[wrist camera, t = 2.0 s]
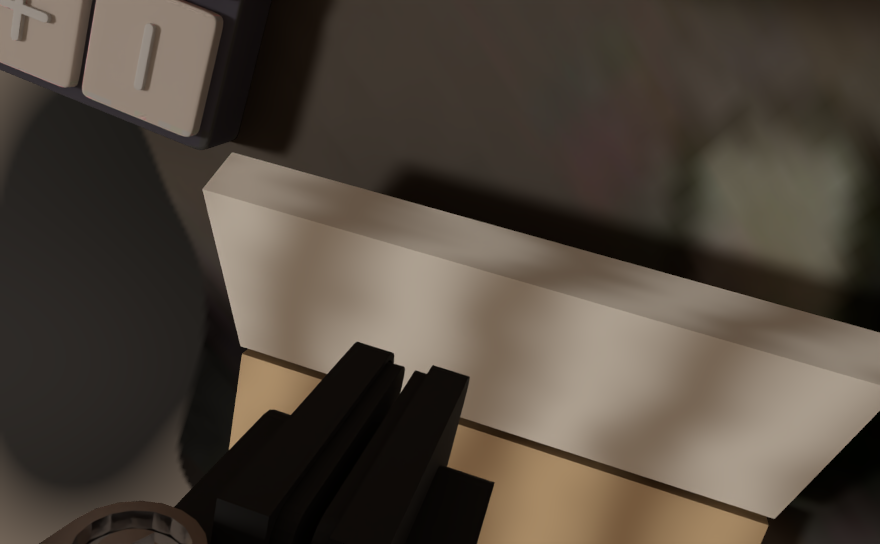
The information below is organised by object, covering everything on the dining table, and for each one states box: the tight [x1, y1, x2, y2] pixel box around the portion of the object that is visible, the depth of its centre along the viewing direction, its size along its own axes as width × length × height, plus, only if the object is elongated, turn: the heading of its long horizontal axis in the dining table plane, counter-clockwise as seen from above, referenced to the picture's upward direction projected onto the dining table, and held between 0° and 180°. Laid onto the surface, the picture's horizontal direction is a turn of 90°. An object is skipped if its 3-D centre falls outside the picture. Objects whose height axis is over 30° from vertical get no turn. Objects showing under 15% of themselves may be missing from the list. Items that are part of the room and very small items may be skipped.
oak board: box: [229, 349, 769, 544], centre depth 33 cm, size 22×10×2 cm, turn 77°
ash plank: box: [202, 152, 880, 519], centre depth 27 cm, size 22×9×2 cm
